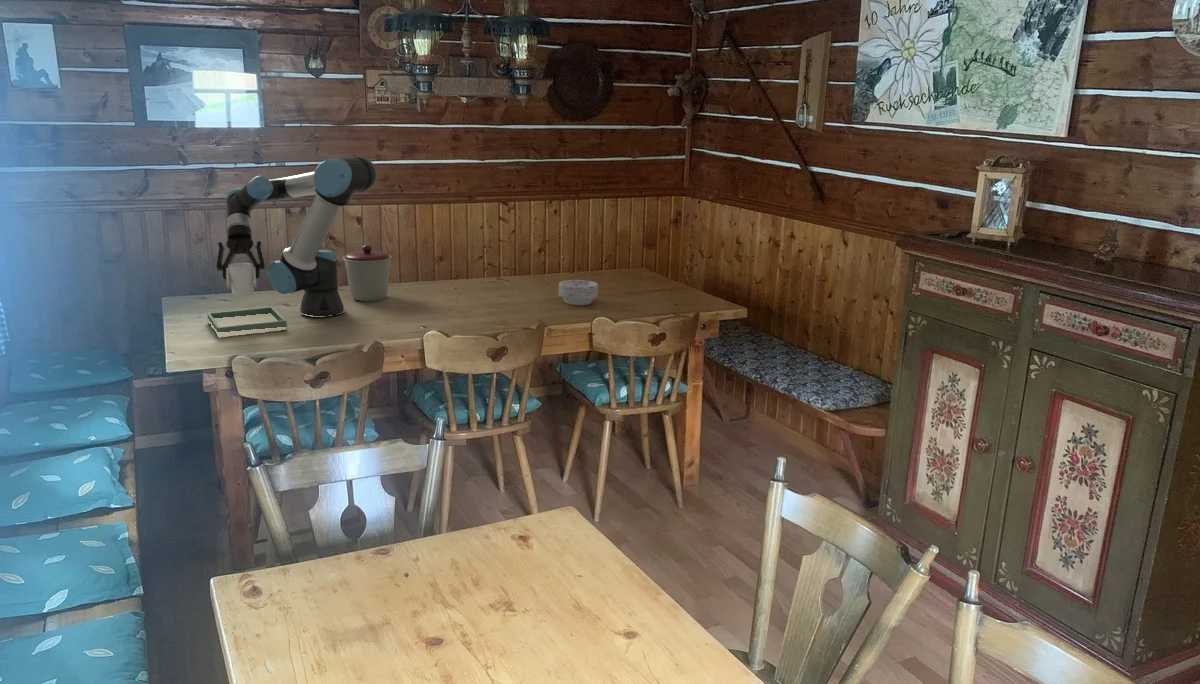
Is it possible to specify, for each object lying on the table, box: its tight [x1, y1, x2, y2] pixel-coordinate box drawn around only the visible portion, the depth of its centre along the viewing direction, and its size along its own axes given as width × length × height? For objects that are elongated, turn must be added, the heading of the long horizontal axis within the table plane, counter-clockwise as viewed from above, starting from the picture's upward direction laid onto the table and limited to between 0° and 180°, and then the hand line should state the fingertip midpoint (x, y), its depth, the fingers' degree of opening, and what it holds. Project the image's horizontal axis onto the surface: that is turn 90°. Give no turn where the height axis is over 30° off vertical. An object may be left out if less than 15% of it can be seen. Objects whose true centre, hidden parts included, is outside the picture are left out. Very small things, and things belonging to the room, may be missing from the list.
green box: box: [206, 306, 288, 332], centre depth 312 cm, size 22×22×4 cm
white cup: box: [228, 262, 255, 297], centre depth 308 cm, size 8×8×10 cm
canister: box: [342, 244, 392, 302], centre depth 352 cm, size 18×18×21 cm
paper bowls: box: [558, 279, 599, 306], centre depth 355 cm, size 15×15×8 cm
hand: (241, 285), depth 305 cm, fingers closed on white cup, 8 cm apart
